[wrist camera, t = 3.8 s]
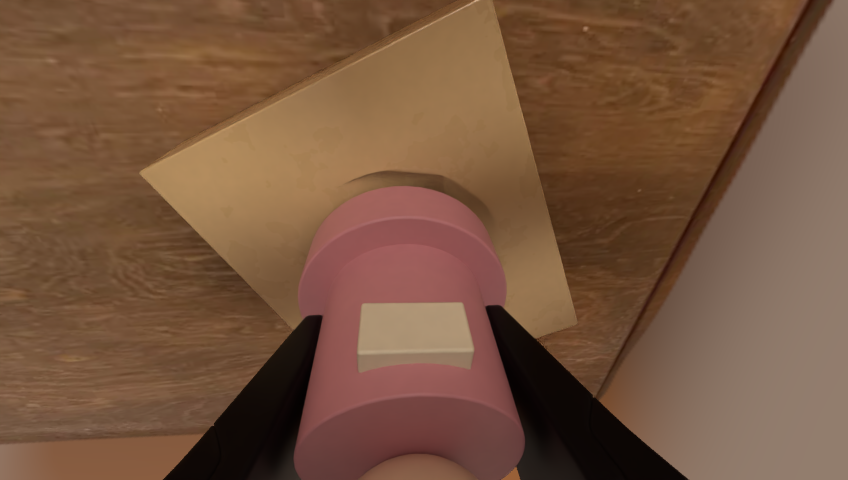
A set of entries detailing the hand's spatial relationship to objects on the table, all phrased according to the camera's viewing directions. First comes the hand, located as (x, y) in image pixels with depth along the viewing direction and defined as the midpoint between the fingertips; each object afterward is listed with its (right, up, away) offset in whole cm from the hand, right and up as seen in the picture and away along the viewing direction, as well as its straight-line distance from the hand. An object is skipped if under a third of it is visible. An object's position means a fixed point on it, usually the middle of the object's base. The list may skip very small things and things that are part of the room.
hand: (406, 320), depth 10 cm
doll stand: (0, +3, +4) cm, 5 cm away
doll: (0, +1, +2) cm, 2 cm away
